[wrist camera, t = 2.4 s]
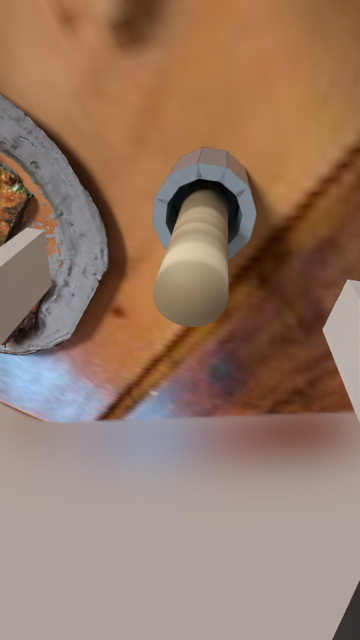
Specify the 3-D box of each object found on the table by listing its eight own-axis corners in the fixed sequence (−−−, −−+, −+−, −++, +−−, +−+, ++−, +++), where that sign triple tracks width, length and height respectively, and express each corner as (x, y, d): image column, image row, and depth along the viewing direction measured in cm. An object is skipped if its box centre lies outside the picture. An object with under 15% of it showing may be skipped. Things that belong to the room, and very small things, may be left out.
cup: (169, 141, 22) (157, 156, 18) (260, 156, 22) (267, 173, 18) (162, 228, 26) (150, 256, 22) (238, 241, 26) (241, 271, 22)
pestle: (188, 173, 22) (155, 257, 12) (231, 180, 22) (236, 270, 12) (183, 215, 24) (150, 320, 14) (222, 222, 24) (220, 331, 14)
